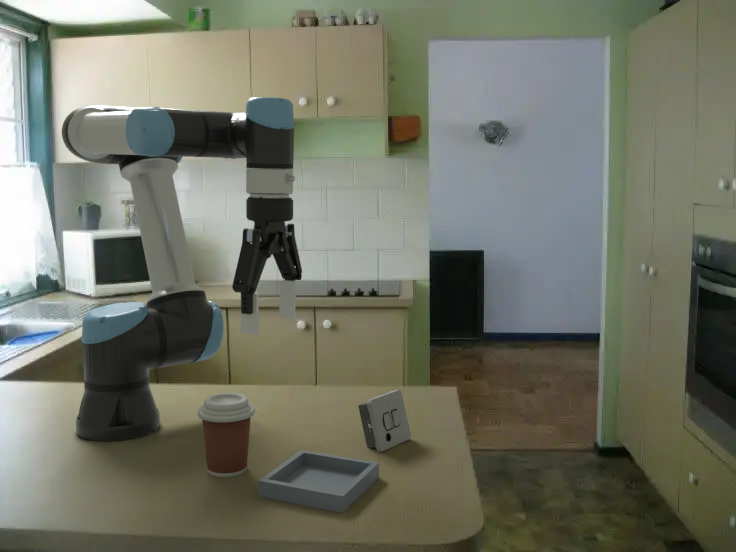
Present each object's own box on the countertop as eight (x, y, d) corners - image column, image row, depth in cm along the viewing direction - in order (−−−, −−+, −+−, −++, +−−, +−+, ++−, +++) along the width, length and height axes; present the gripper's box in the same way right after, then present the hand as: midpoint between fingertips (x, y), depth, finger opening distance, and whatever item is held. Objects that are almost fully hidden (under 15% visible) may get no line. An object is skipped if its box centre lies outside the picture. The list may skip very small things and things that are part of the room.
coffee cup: (227, 455, 131) (226, 387, 130) (266, 467, 126) (266, 397, 124) (187, 471, 124) (185, 400, 122) (226, 485, 119) (225, 411, 117)
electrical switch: (380, 454, 133) (377, 401, 132) (358, 449, 136) (354, 398, 135) (412, 439, 140) (409, 390, 139) (389, 436, 143) (386, 387, 143)
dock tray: (258, 496, 115) (258, 480, 114) (301, 464, 127) (301, 449, 127) (342, 512, 109) (343, 496, 109) (379, 477, 122) (379, 462, 122)
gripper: (253, 199, 110) (254, 343, 113) (321, 194, 133) (320, 313, 136) (208, 198, 112) (209, 338, 115) (282, 192, 135) (282, 310, 138)
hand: (269, 325), depth 126 cm, fingers open, 13 cm apart
